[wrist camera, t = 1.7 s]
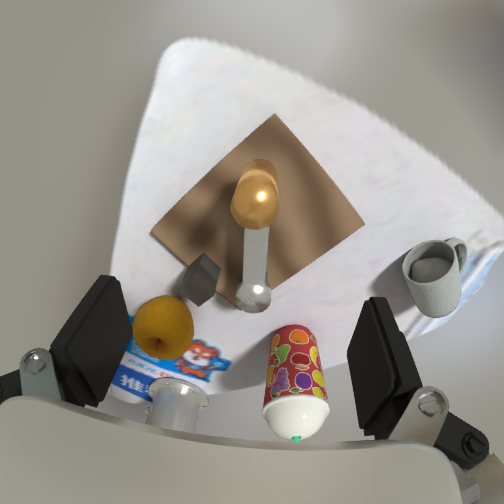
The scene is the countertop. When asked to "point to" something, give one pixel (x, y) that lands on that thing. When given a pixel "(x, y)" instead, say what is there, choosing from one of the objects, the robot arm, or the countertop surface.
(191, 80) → the countertop surface
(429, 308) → the ceramic mug
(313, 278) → the countertop surface
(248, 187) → the lever
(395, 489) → the robot arm
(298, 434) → the smoothie
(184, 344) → the apple
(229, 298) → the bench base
